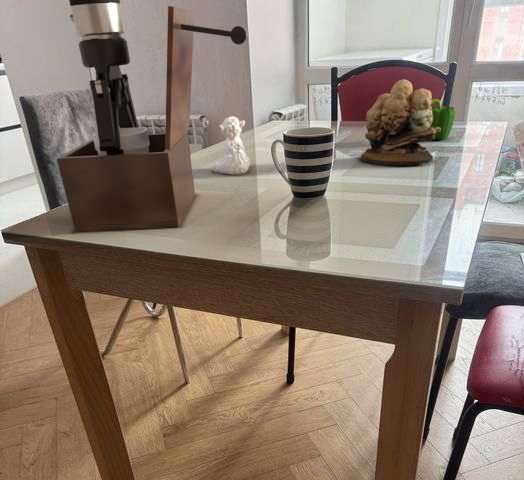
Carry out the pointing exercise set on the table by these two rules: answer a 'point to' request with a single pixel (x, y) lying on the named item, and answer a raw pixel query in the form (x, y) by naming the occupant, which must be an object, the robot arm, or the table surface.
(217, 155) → the table surface
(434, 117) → the bell pepper
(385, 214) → the table surface
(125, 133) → the foam cup
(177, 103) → the bin lid
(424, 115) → the owl figurine
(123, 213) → the bin
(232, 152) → the white creature statuette
